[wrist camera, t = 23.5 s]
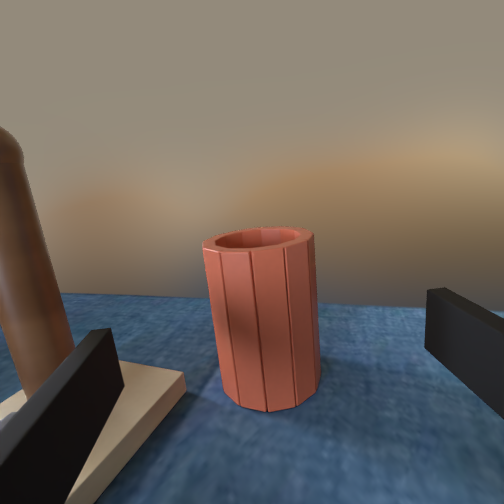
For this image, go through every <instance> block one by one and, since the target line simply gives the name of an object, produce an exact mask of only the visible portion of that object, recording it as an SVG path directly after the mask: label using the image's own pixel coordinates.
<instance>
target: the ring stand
mask: <svg viewBox="0 0 504 504" xmlns="http://www.w3.org/2000/svg"><path fill="white" fill-rule="evenodd" d="M0 324H1V327H2V330H3V333H4V336H5V339H6V342H7V345H8V348H9V350H10V353H11V356H12V359H13V362H14V365H15V368H16V371H17V374H18V377H19V379H20V382H21V385H22V388H23V389H22V390H21V391H19V392H17V393H16V394H14V395H13V396H11V397H10V398H8V399H7V400H5V401H4V402H2V403H0V420H2V419H3V418H4V417H6V416H7V415H8V414H10V413H11V412H17V411H18V410H19V409H20V408H21V407H22V406H23V405H24V404H25V403H26V402H27V400H28V399H29V398H30V397H31V396H32V395H33V394H34V393H35V392H36V391H37V390H38V388H39V387H40V386H41V385H42V384H43V383H44V382H45V381H46V380H47V379H48V377H49V376H50V375H51V374H52V373H53V372H54V371H55V370H56V369H57V368H58V366H59V365H60V364H61V363H62V362H63V361H64V360H65V359H66V358H67V357H68V355H69V354H70V353H71V352H72V351H73V350H74V349H75V345H74V341H73V338H72V334H71V330H70V327H69V323H68V320H67V316H66V313H65V309H64V306H63V302H62V298H61V295H60V291H59V288H58V284H57V281H56V278H55V274H54V270H53V267H52V263H51V259H50V256H49V253H48V249H47V245H46V242H45V238H44V235H43V231H42V227H41V224H40V220H39V217H38V213H37V210H36V206H35V203H34V199H33V196H32V192H31V188H30V185H29V181H28V178H27V174H26V171H25V167H24V156H23V152H22V149H21V147H20V145H19V143H18V142H17V140H16V139H15V138H14V137H13V136H12V135H11V134H10V133H9V132H8V131H6V130H5V129H3V128H2V127H0ZM119 364H120V368H121V372H122V376H123V380H124V384H125V387H124V389H123V391H122V393H121V395H120V396H119V398H118V400H117V402H116V404H115V406H114V408H113V410H112V412H111V414H110V416H109V418H108V420H107V422H106V424H105V426H104V428H103V430H102V432H101V434H100V435H99V437H98V439H97V441H96V443H95V445H94V447H93V449H92V451H91V453H90V455H89V457H88V459H87V461H86V463H85V465H84V467H83V469H82V471H81V473H80V475H79V476H78V478H77V480H76V482H75V484H74V486H73V488H72V490H71V492H70V494H69V496H68V498H67V500H66V502H65V504H94V502H95V501H96V500H97V499H98V498H99V496H100V495H101V494H102V493H103V491H104V490H105V489H106V488H107V487H108V485H109V484H110V483H111V482H112V481H113V479H114V478H115V477H116V476H117V475H118V473H119V472H120V471H121V470H122V468H123V467H124V466H125V465H126V464H127V462H128V461H129V460H130V459H131V458H132V456H133V455H134V454H135V453H136V451H137V450H138V449H139V448H140V447H141V445H142V444H143V443H144V442H145V441H146V439H147V438H148V437H149V436H150V434H151V433H152V432H153V431H154V430H155V428H156V427H157V426H158V425H159V424H160V422H161V421H162V420H163V419H164V418H165V416H166V415H167V414H168V413H169V411H170V410H171V409H172V408H173V407H174V405H175V404H176V403H177V402H178V401H179V399H180V398H181V397H182V396H183V394H184V393H185V392H186V391H187V390H186V384H185V379H184V373H183V372H180V371H174V370H169V369H163V368H158V367H153V366H147V365H142V364H136V363H131V362H125V361H120V360H119Z"/></svg>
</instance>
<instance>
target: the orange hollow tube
mask: <svg viewBox="0 0 504 504" xmlns="http://www.w3.org/2000/svg"><path fill="white" fill-rule="evenodd" d="M202 249H203V255H204V262H205V269H206V276H207V282H208V288H209V296H210V303H211V310H212V316H213V323H214V330H215V337H216V343H217V350H218V357H219V364H220V370H221V377H222V384H223V390H224V392H225V393H226V394H227V395H228V396H229V397H230V398H231V399H232V400H233V401H234V402H235V403H237V404H238V405H241V406H242V407H245V408H250V409H254V410H259V411H263V412H266V411H267V409H268V412H273V411H278V410H283V409H288V408H293V407H295V406H296V405H297V406H298V405H300V404H301V403H302V402H304V401H305V400H306V399H308V398H309V397H310V396H312V395H313V394H314V393H315V392H316V391H317V388H318V384H319V380H320V376H321V365H320V345H319V325H318V306H317V286H316V267H315V248H314V234H313V233H312V232H311V231H309V230H307V229H304V228H297V227H288V226H285V227H284V226H279V227H262V228H261V227H258V228H250V229H243V230H239V231H232V232H228V233H223V234H219V235H216V236H214V237H211V238H209V239H207V240H205V241H204V242H203V248H202Z"/></svg>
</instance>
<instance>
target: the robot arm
mask: <svg viewBox="0 0 504 504" xmlns="http://www.w3.org/2000/svg"><path fill="white" fill-rule="evenodd" d="M424 348H425V349H426V350H427V351H428V352H430V353H431V354H432V355H433V356H434V357H435V358H436V359H437V360H438V361H439V362H441V363H442V364H443V365H444V366H445V367H446V368H447V369H448V370H449V371H451V372H452V373H453V374H454V375H455V376H456V377H457V378H458V379H459V380H461V381H462V382H463V383H464V384H465V385H466V386H467V387H468V388H469V389H470V390H472V391H473V392H474V393H475V394H476V395H477V396H478V397H479V398H480V399H482V400H483V401H484V402H485V403H486V404H487V405H488V406H489V407H490V408H492V409H493V410H494V411H495V412H496V413H497V414H498V415H499V416H500V417H501V418H503V419H504V319H503V318H501V317H499V316H498V315H496V314H494V313H492V312H490V311H488V310H486V309H484V308H482V307H481V306H479V305H477V304H475V303H473V302H471V301H469V300H467V299H466V298H464V297H462V296H460V295H458V294H456V293H454V292H452V291H451V290H449V289H447V288H438V289H429V290H427V303H426V324H425V345H424ZM124 387H125V384H124V380H123V376H122V372H121V368H120V364H119V360H118V356H117V352H116V347H115V343H114V339H113V335H112V331H111V328H105V329H97V330H91V331H90V332H89V334H88V335H87V336H86V337H85V338H84V339H83V340H82V341H81V342H80V343H79V345H78V346H77V347H76V348H75V349H74V350H73V351H72V352H71V353H70V354H69V355H68V357H67V358H66V359H65V360H64V361H63V362H62V363H61V364H60V365H59V366H58V368H57V369H56V370H55V371H54V372H53V373H52V374H51V375H50V376H49V377H48V379H47V380H46V381H45V382H44V383H43V384H42V385H41V386H40V387H39V388H38V390H37V391H36V392H35V393H34V394H33V395H32V396H31V397H30V398H29V399H28V400H27V402H26V403H25V404H24V405H23V406H22V407H21V408H20V409H19V410H18V411H17V412H11V413H10V414H8V415H7V416H6V417H4V418H3V419H2V420H0V504H65V502H66V500H67V498H68V496H69V494H70V492H71V490H72V488H73V486H74V484H75V482H76V480H77V478H78V476H79V475H80V473H81V471H82V469H83V467H84V465H85V463H86V461H87V459H88V457H89V455H90V453H91V451H92V449H93V447H94V445H95V443H96V441H97V439H98V437H99V435H100V434H101V432H102V430H103V428H104V426H105V424H106V422H107V420H108V418H109V416H110V414H111V412H112V410H113V408H114V406H115V404H116V402H117V400H118V398H119V396H120V395H121V393H122V391H123V389H124Z"/></svg>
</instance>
